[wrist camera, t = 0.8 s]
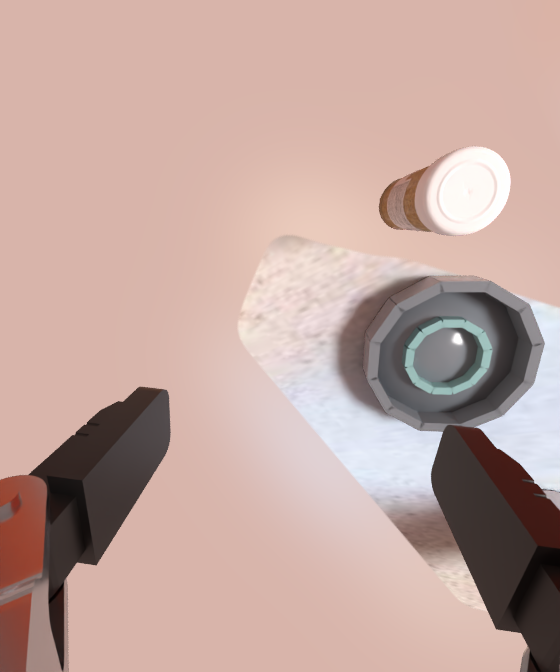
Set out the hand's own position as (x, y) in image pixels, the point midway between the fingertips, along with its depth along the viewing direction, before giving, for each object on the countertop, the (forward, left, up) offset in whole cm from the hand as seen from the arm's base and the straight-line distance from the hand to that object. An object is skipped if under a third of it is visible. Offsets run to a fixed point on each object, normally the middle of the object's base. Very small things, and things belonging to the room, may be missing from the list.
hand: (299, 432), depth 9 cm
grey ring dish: (-16, -1, -25) cm, 30 cm away
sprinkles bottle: (-4, -11, -26) cm, 28 cm away
